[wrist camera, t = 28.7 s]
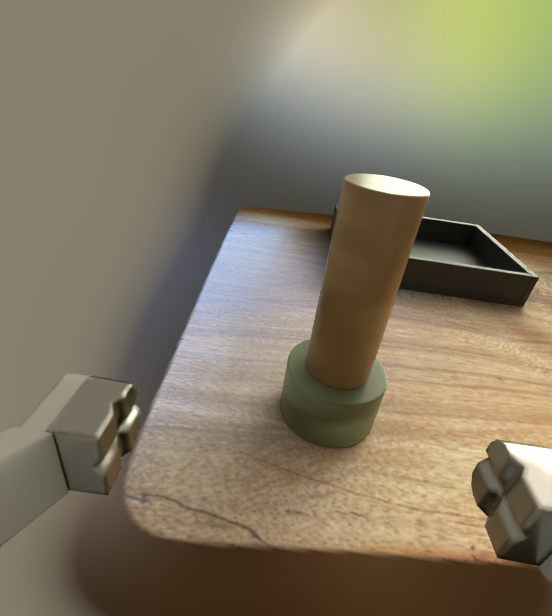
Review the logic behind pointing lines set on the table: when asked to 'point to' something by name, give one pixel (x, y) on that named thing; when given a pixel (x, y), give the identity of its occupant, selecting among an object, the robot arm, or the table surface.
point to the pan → (464, 264)
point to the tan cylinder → (353, 312)
